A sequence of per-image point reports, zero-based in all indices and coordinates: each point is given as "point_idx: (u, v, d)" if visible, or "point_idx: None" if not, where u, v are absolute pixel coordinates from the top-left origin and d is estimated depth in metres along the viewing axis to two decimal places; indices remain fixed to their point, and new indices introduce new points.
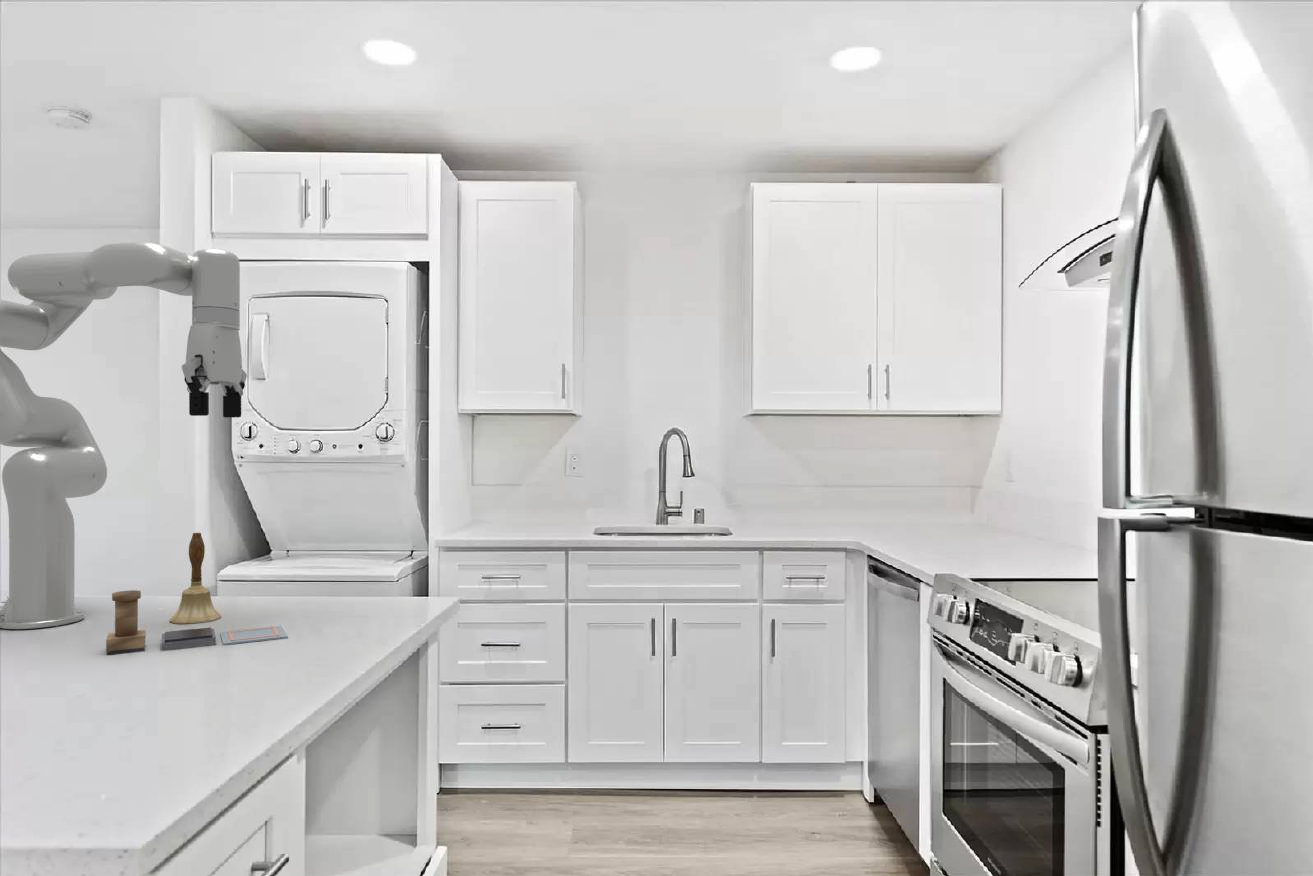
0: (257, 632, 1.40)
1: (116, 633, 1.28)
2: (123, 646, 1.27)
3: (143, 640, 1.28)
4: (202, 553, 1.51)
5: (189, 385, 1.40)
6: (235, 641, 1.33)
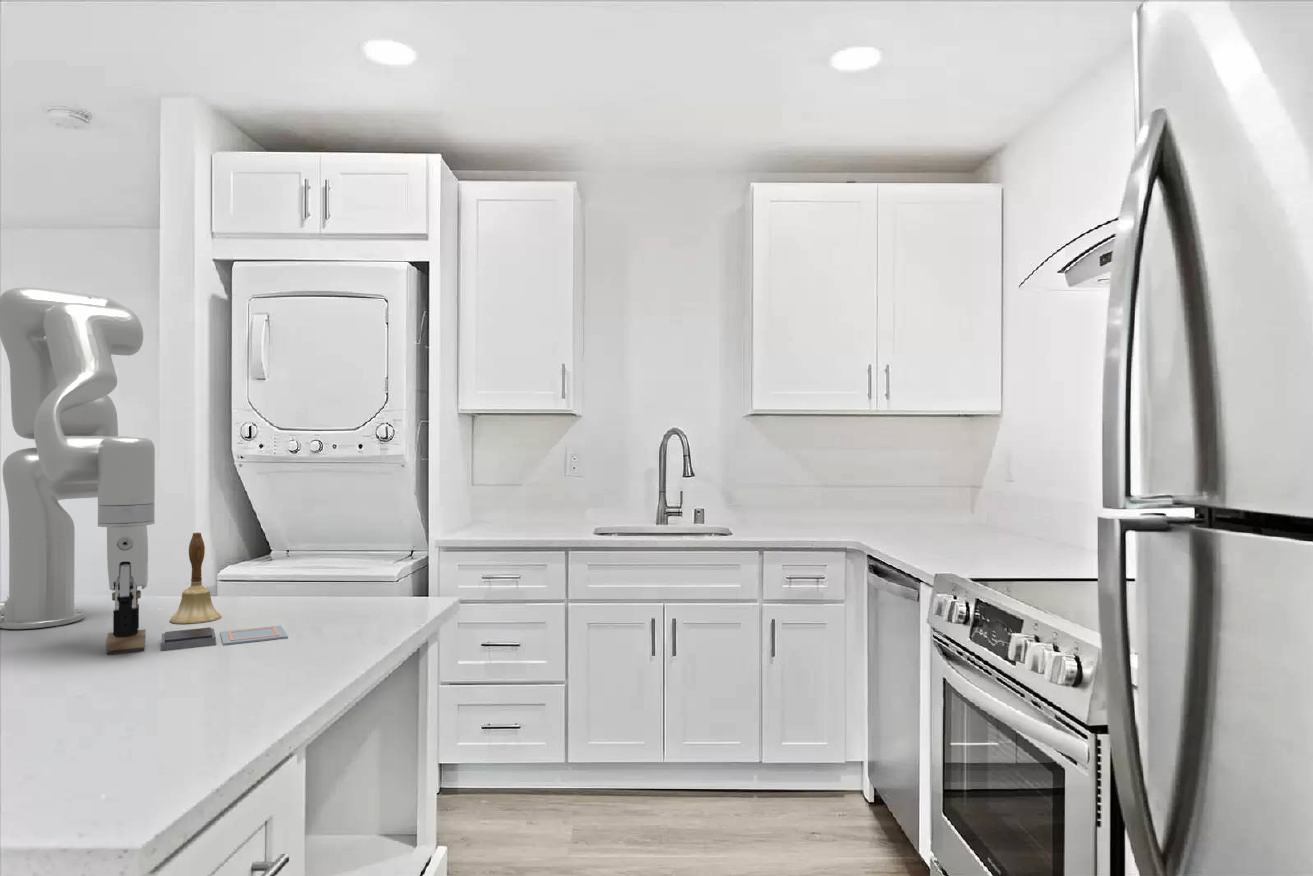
0: (257, 632, 1.40)
1: None
2: (123, 646, 1.27)
3: (143, 640, 1.29)
4: (202, 553, 1.51)
5: None
6: (235, 641, 1.33)
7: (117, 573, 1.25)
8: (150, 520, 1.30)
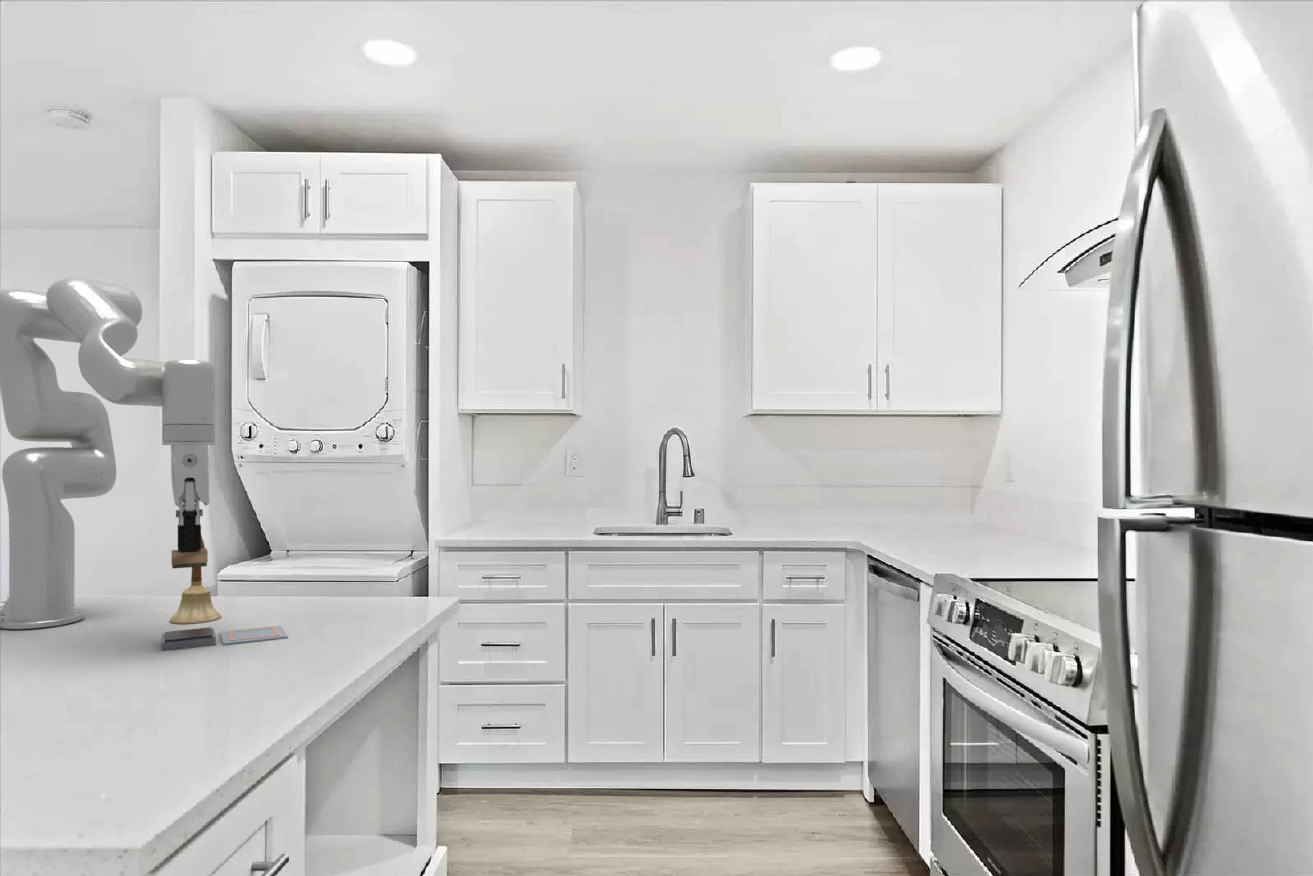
0: (257, 632, 1.40)
1: None
2: (187, 560, 1.32)
3: (206, 555, 1.33)
4: None
5: None
6: (235, 641, 1.33)
7: (182, 488, 1.29)
8: (212, 440, 1.34)
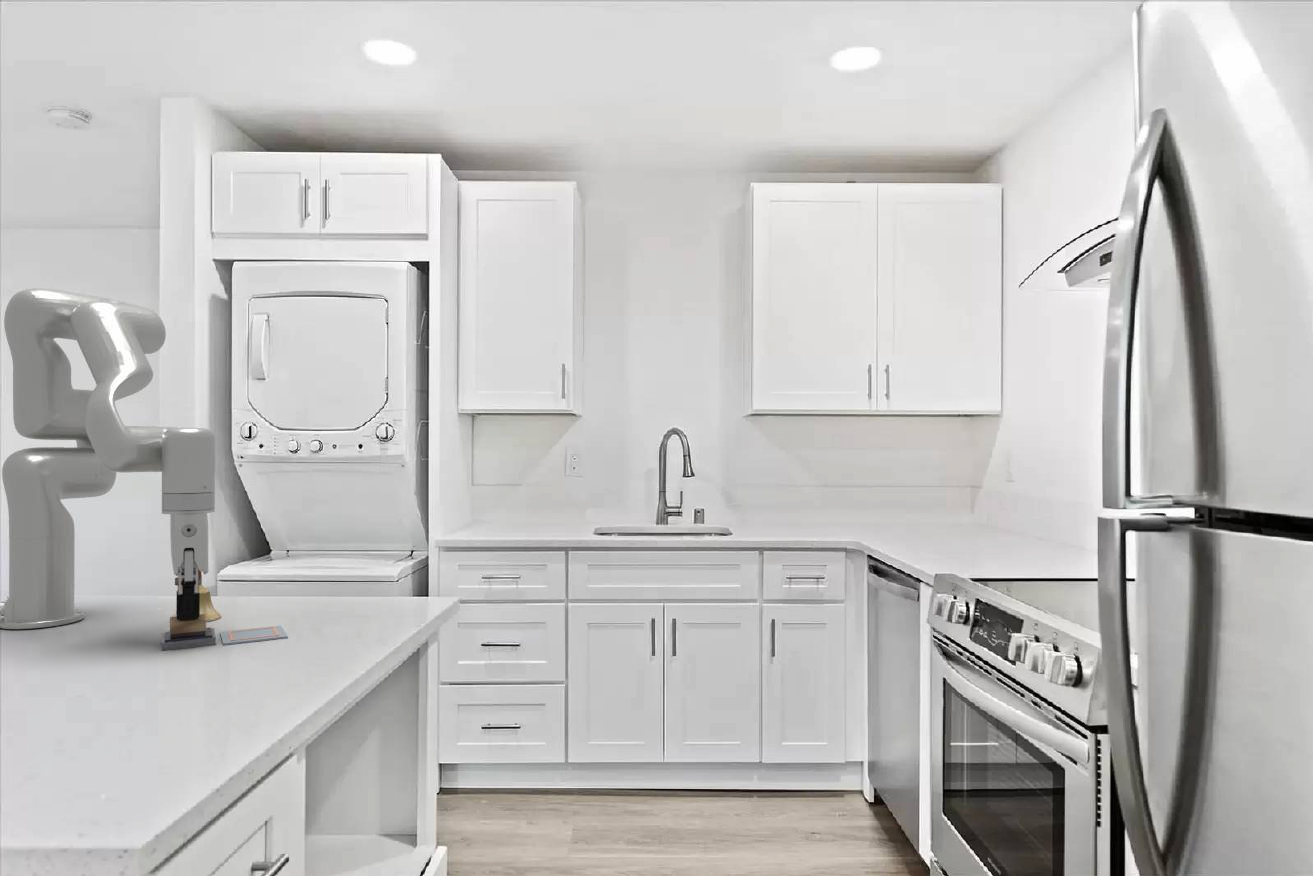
0: (257, 632, 1.40)
1: None
2: (186, 629, 1.32)
3: (205, 623, 1.33)
4: None
5: None
6: (235, 641, 1.33)
7: (181, 559, 1.29)
8: (211, 508, 1.34)
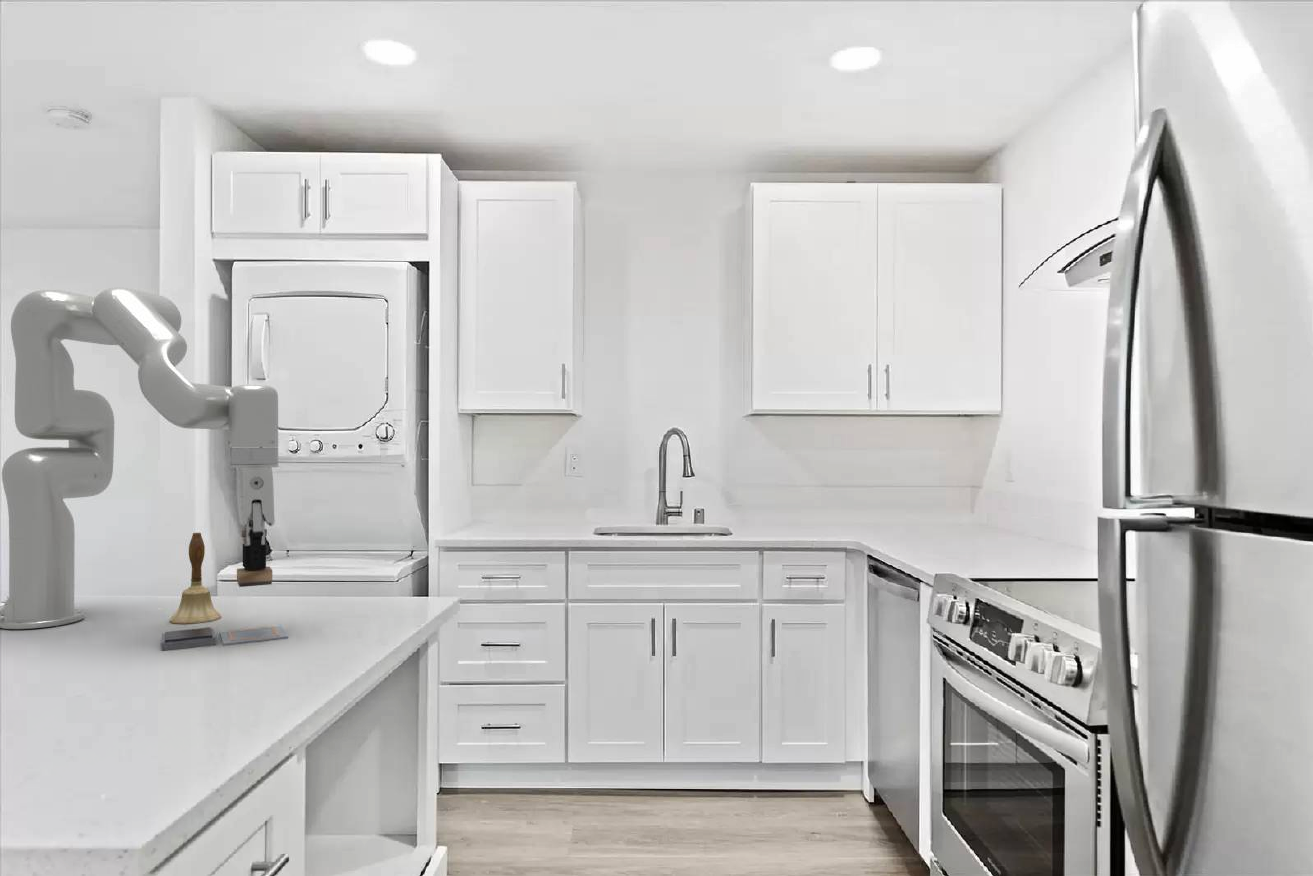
0: (257, 632, 1.40)
1: None
2: (254, 579, 1.36)
3: (271, 574, 1.38)
4: (202, 553, 1.51)
5: None
6: (235, 641, 1.33)
7: (250, 510, 1.34)
8: (276, 463, 1.39)
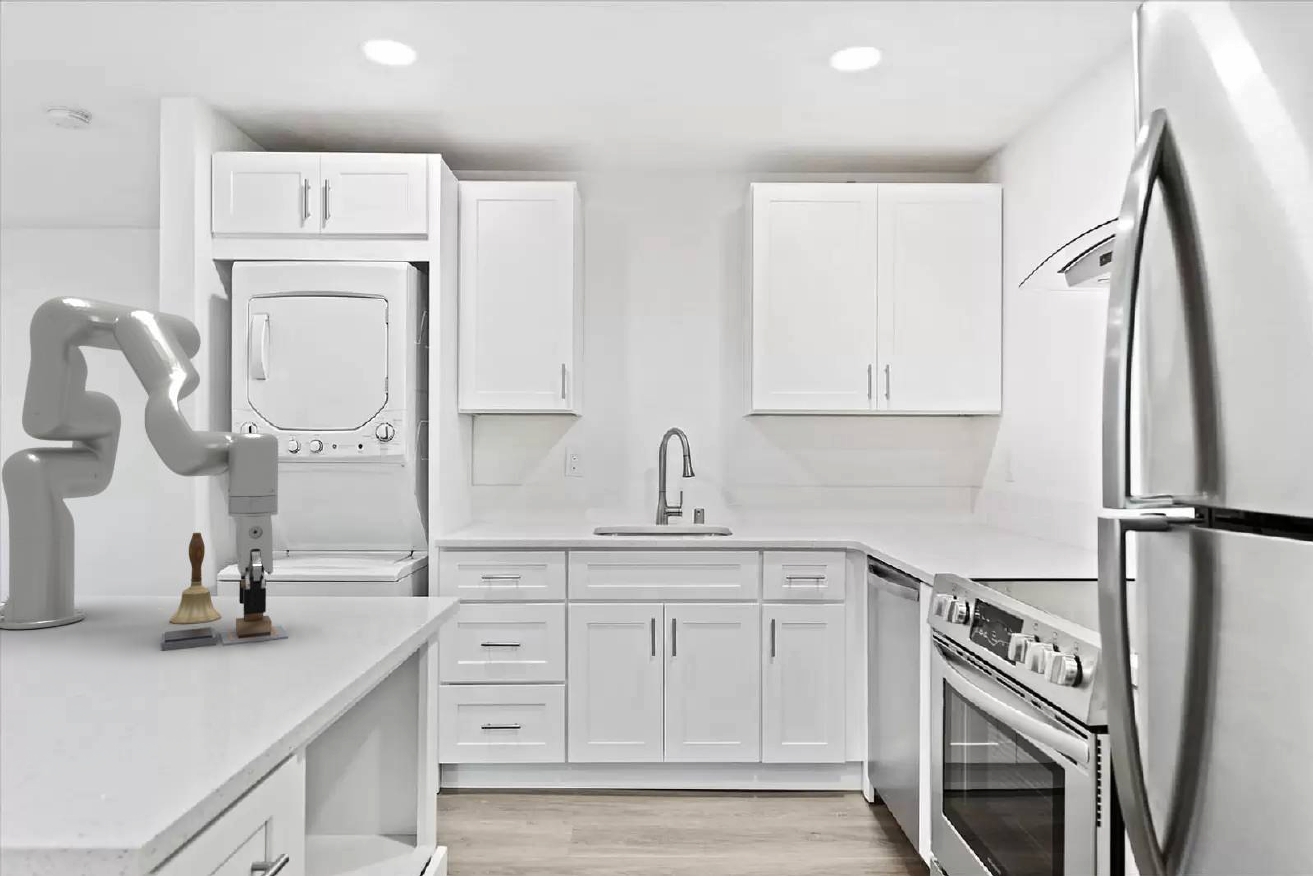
0: None
1: (245, 618, 1.37)
2: (253, 630, 1.36)
3: (270, 625, 1.38)
4: (202, 553, 1.51)
5: None
6: (235, 641, 1.33)
7: (248, 559, 1.34)
8: (275, 510, 1.39)
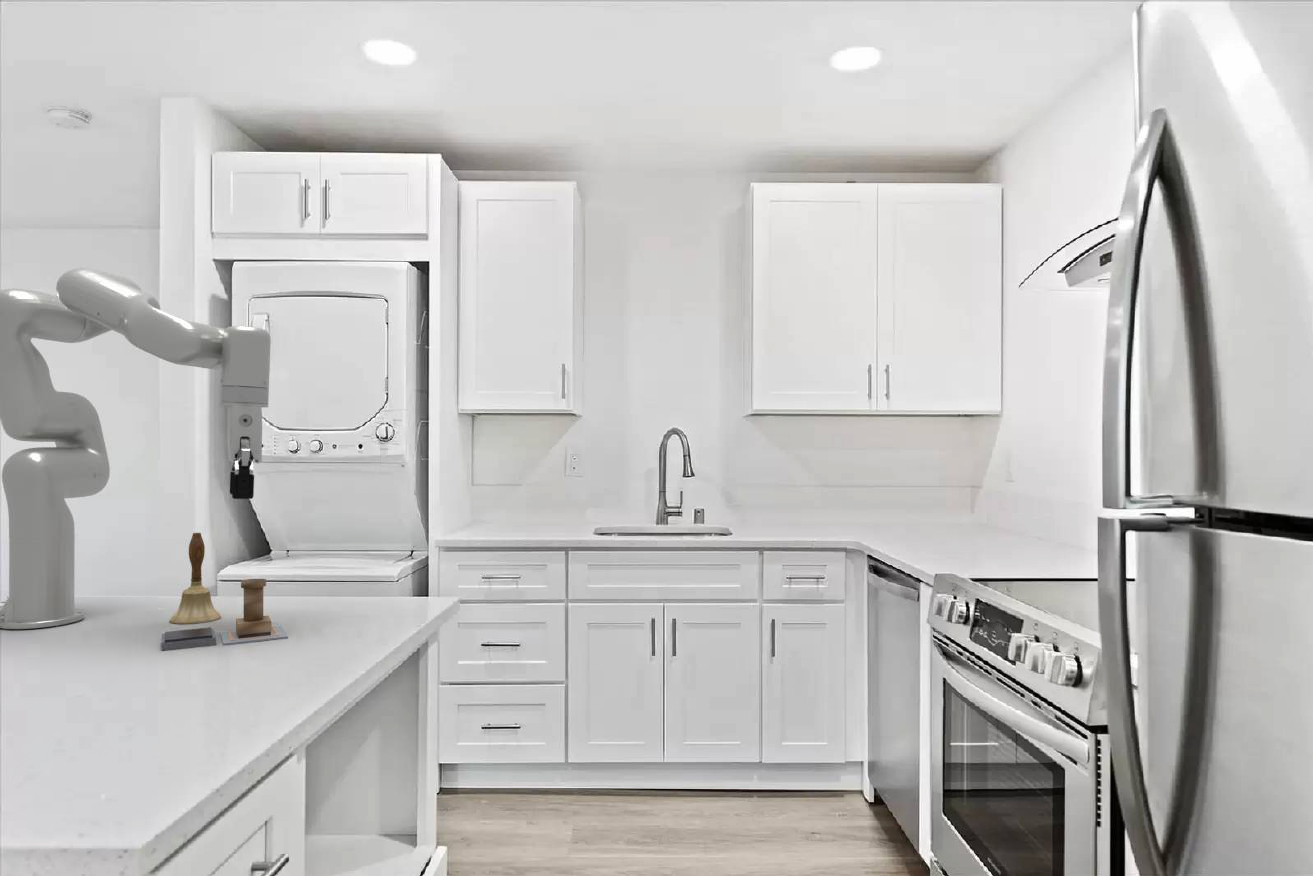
0: None
1: (245, 618, 1.37)
2: (253, 630, 1.36)
3: (270, 625, 1.38)
4: (202, 553, 1.51)
5: None
6: (235, 641, 1.33)
7: (238, 446, 1.39)
8: (265, 403, 1.43)
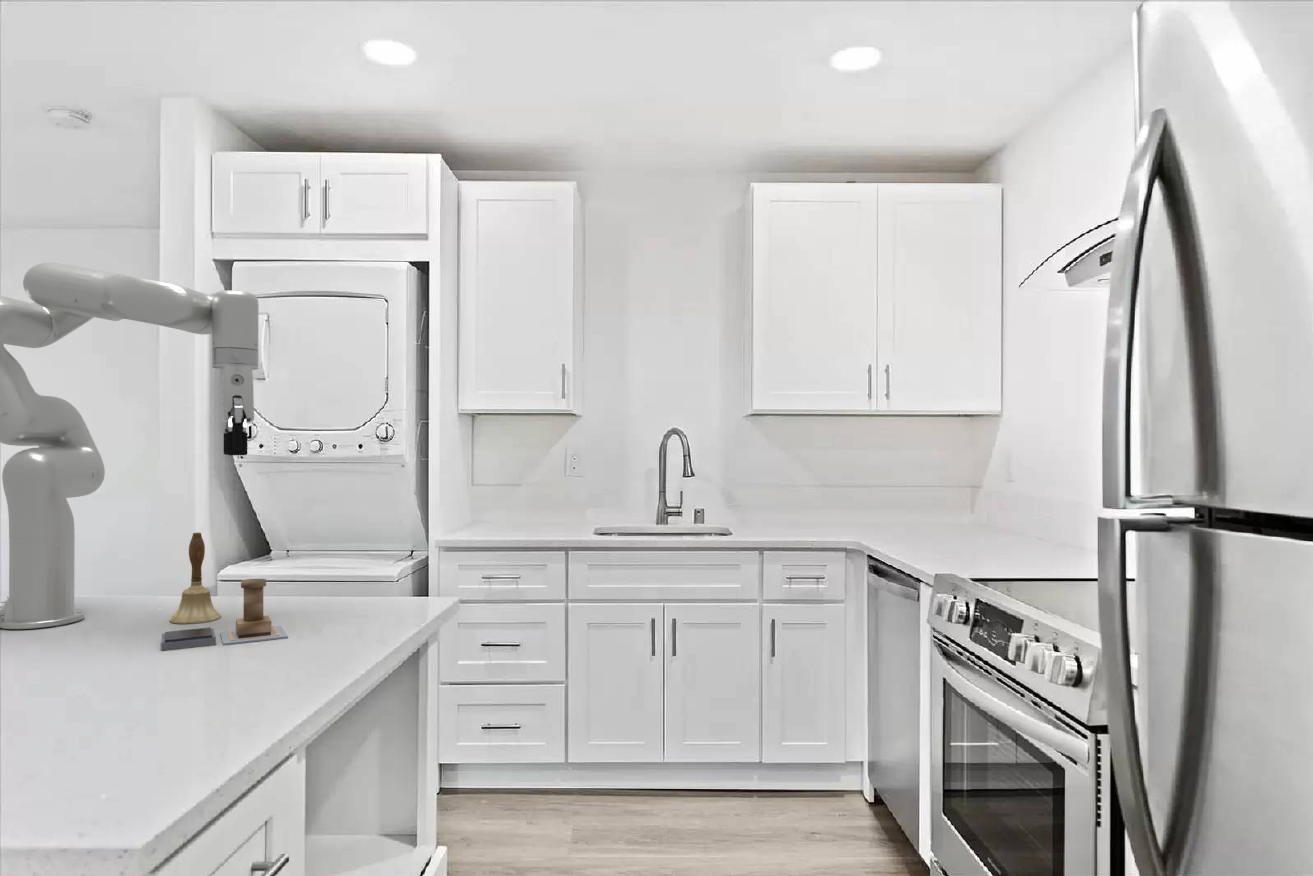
0: None
1: (245, 618, 1.37)
2: (253, 630, 1.36)
3: (270, 625, 1.38)
4: (202, 553, 1.51)
5: None
6: (235, 641, 1.33)
7: (231, 404, 1.44)
8: (256, 364, 1.49)
